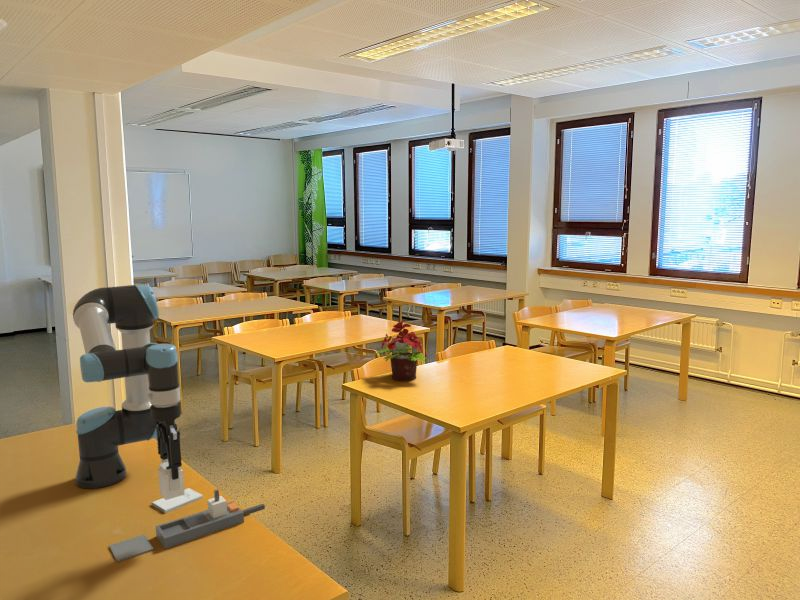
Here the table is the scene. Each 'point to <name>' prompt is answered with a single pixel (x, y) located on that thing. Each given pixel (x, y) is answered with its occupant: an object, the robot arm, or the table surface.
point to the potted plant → (403, 362)
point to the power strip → (203, 522)
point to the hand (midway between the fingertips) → (171, 485)
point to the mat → (131, 547)
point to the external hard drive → (177, 501)
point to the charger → (165, 482)
